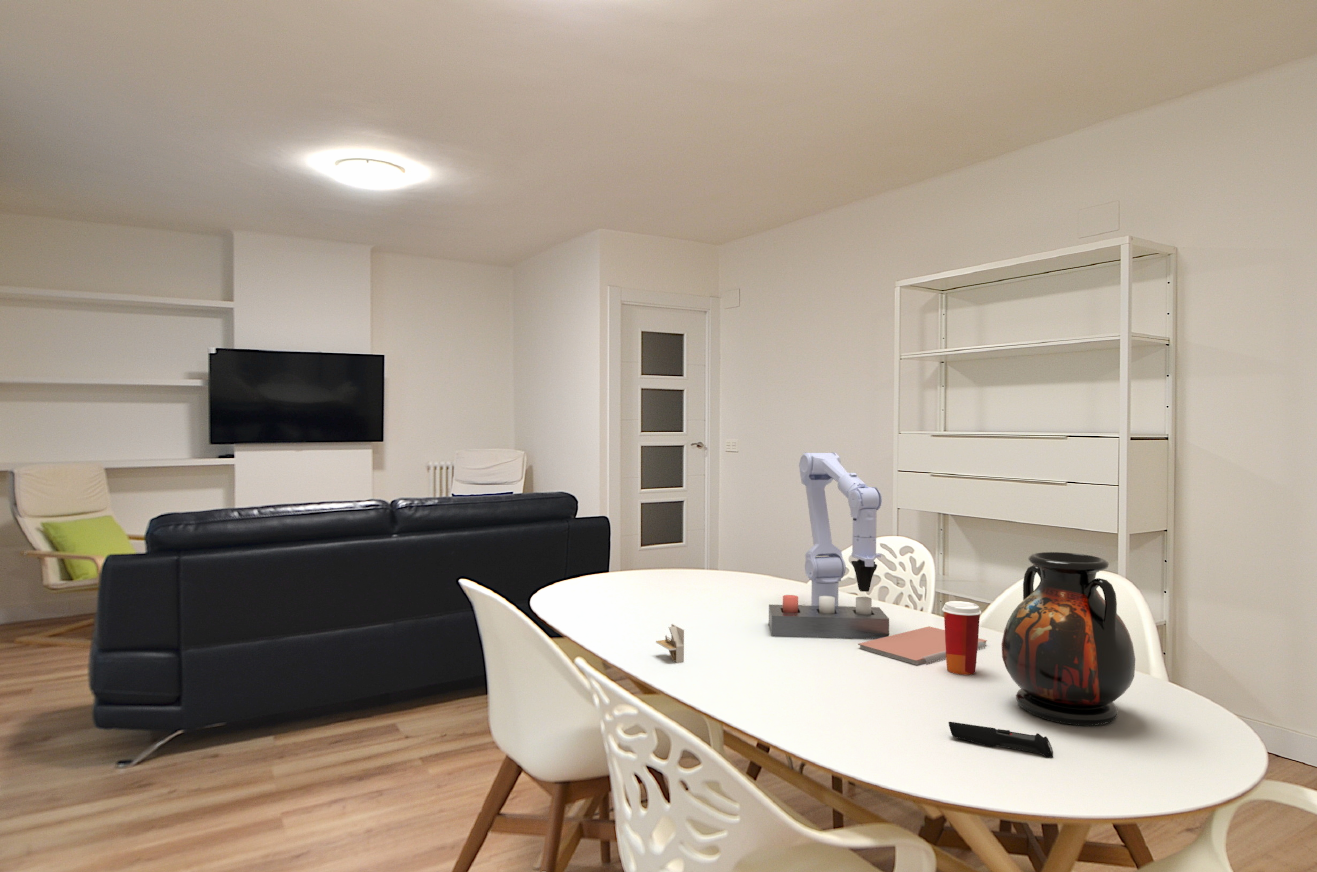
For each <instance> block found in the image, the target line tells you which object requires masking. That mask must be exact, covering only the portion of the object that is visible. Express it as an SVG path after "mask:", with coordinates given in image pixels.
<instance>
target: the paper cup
mask: <svg viewBox="0 0 1317 872" xmlns="http://www.w3.org/2000/svg"><path fill="white" fill-rule="evenodd" d="M980 608H981V607H980V606H979V605H978V604H976V603H974V602H968V601H960V600H952V601H946V602H945V604H944V605H943V607H942V609H941V611H942V612H943V617H944V620H943V621H944V630H945V644H946V658H945V661H946V670H947V672H949V673H951V674H955V675H961V676H972V675H974V674H975V673H976V667H977V655H978V650H977V649H979V648H978V638H979V632H980V629H979V628H980V619H981V618H980V616H981V614H982V611H981V609H980Z"/></svg>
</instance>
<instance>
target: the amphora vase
mask: <svg viewBox="0 0 1317 872" xmlns="http://www.w3.org/2000/svg"><path fill="white" fill-rule="evenodd" d="M1028 562H1030V563H1031V566H1028V567H1027V568H1026V571H1025V573H1024V576H1023V581H1022V582H1023V583H1022V591H1023V592H1022V593H1023V594H1022V595H1023V597H1022V601H1021V602H1020V603H1019V604H1018V605H1017V606H1016V607H1015V609H1014V610H1013V611H1012V612H1011V615H1010V616H1009V618H1008V620H1007V622H1006V625H1005V627H1004V630H1003V635H1002V640H1001V658H1002V661H1003V665H1004V667H1005V669H1006V671H1007V673H1008V674H1009V676H1010V677H1011V679H1012V680H1013V682H1014V683H1015V684H1016V685H1017V686H1018V687H1019V688H1020V689H1018V691H1017V692H1016V693H1015V700H1016V702H1017V704H1018V706H1019V707H1021V708H1022V709H1023V710H1025V711H1027V713H1029V714H1032V715H1034V716H1036V717H1039V718H1042V719H1043V720H1047V721H1051V722H1056V723H1059V724H1065V725H1073V726H1086V727H1087V726H1100V725H1104V724H1108V723H1111V722H1113V720H1115V719H1116V718H1117V717H1118V714H1119V709H1118V707H1117V705H1116V704H1115V703H1114V702H1115V701H1116V700H1118V699H1119V698H1120V697H1121V696H1123V695H1124V694H1125V693H1126V691H1127V690H1128V689H1129V688H1130V687H1131V685H1132V683H1133V681H1134V678H1135V670H1136V669H1135V668H1136V653H1135V648H1134V643H1133V640H1132V637H1131V635H1130V632H1129V630H1128V628H1127V626H1126V623H1125V622H1124V621H1123V619H1122V618H1121V617H1120V615H1119V614H1118V611H1117V608H1118V605H1117V604H1118V601H1117V594H1116V591H1115V589H1114V587H1113V584H1112V583H1111V582H1110V581H1108V580H1107V579H1104V578H1099V577H1097V578H1096V576H1097V573H1099V572H1100V571H1102V572H1103V571H1105V570H1107V569H1108V568H1109V562H1108V561H1107V560H1105V559H1104V558H1101V557H1098V556H1094V555H1088V554H1083V553H1076V552H1075V553H1074V552H1062V551H1061V552H1059V551H1056V552H1055V551H1049V552H1048V551H1046V552H1043V551H1042V552H1036V553H1032V554H1031V555H1029V557H1028ZM1037 574H1038V577H1039V579H1040V581H1039V584H1038V585H1037V587H1036V588H1035V589H1034V583H1035V576H1036V575H1037ZM1099 587H1100V588H1101V591H1102V593H1103V597H1104V598H1103V597H1102V595H1101V594H1100V593H1099V591H1098V590H1097V589H1098V588H1099Z"/></svg>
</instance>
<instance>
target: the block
mask: <svg viewBox="0 0 1317 872" xmlns="http://www.w3.org/2000/svg"><path fill="white" fill-rule="evenodd" d="M768 627H769V631H770V632H769V633H770V635H771V637H782V638H783V637H785V638H786V637H787V638H817V639H818V638H819V639H820V638H821V639H823V638H825V639H857V640H875V639H879V638H883V637H887V636H890V617H888V615H886V613H885V612H884V610H882V608H880V607H879V606H871V615H861V614H856V606H842V605H838V606H835V614H822V613H819V606H811V605H805V604H803V605H800V604H798V613H784V612H783V604H768Z"/></svg>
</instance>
